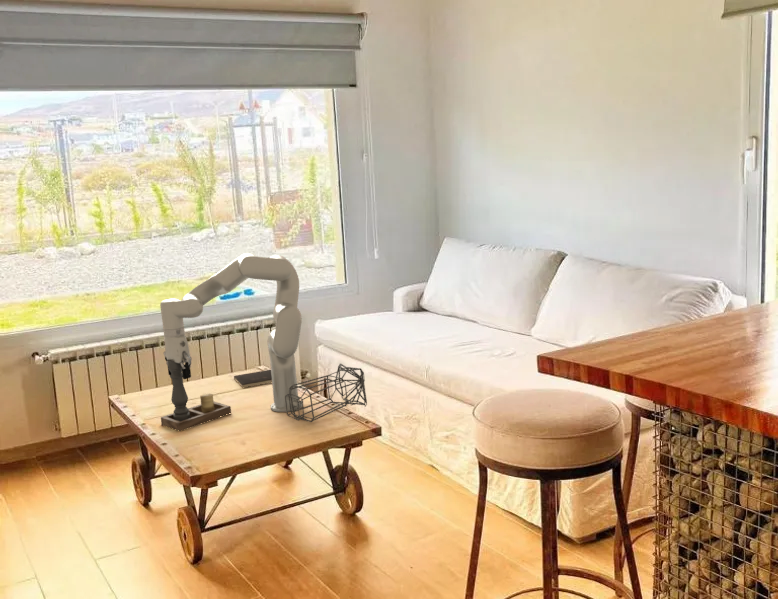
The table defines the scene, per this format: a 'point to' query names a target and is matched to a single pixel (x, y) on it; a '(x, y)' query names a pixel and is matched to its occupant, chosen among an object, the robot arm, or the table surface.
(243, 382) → the hardcover book
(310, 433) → the table surface
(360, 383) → the geometric lantern
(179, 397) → the candle holder
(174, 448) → the table surface
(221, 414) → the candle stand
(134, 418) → the table surface
